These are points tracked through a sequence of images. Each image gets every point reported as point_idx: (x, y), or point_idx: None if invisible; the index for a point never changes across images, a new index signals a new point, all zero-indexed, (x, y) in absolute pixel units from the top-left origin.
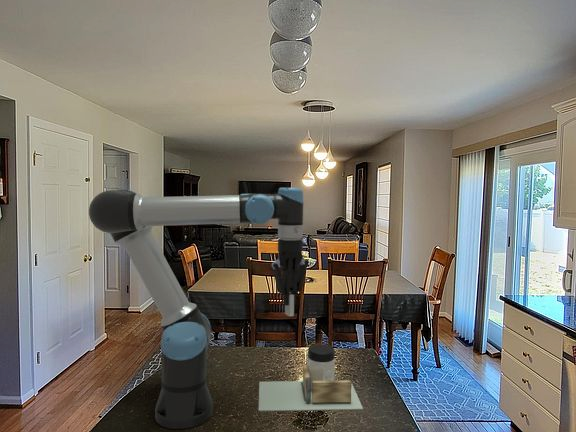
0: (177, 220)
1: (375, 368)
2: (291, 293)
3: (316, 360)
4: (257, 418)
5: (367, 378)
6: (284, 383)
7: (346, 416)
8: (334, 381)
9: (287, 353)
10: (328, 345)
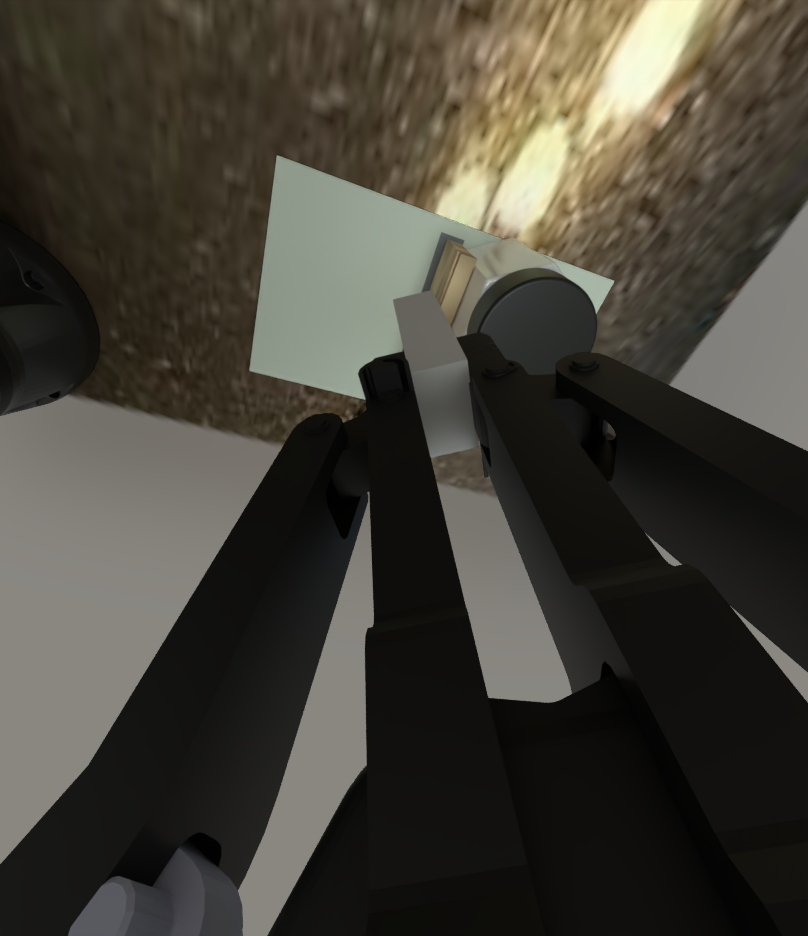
0: None
1: (783, 204)
2: (473, 407)
3: None
4: (243, 400)
5: (680, 278)
6: (377, 215)
7: (468, 450)
8: None
9: None
10: (592, 314)
